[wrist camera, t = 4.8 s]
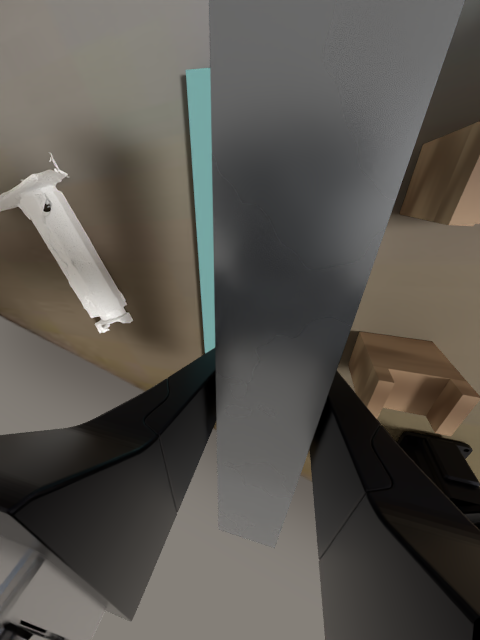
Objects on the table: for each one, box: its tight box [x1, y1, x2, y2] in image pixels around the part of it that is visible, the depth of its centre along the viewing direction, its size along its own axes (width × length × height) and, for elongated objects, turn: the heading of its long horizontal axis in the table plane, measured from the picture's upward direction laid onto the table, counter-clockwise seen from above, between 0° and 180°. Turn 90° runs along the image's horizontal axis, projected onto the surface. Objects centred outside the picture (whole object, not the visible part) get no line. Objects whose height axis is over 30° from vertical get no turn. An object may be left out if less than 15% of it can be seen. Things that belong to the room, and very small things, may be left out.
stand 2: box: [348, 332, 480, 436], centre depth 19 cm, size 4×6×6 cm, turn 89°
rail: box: [209, 0, 465, 548], centre depth 8 cm, size 20×3×3 cm, turn 178°
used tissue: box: [0, 152, 133, 333], centre depth 24 cm, size 11×18×4 cm, turn 6°
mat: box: [186, 68, 215, 354], centre depth 21 cm, size 26×9×1 cm, turn 179°
